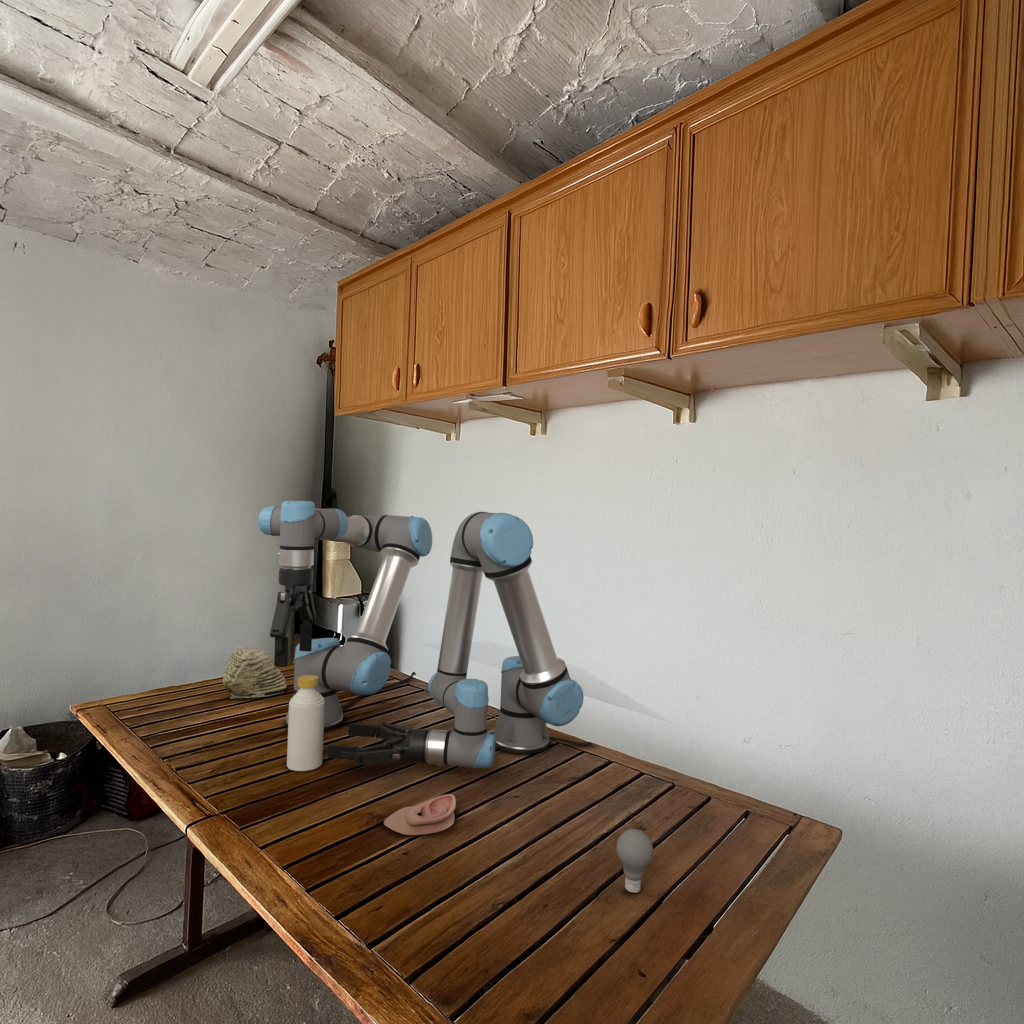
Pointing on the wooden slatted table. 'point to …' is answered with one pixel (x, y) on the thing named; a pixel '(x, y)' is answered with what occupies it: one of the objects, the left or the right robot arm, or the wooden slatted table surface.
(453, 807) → the anatomical model
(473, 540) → the right robot arm
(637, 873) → the light bulb
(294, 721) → the bottle
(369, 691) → the left robot arm
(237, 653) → the fossil
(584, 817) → the wooden slatted table surface
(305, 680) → the cap
